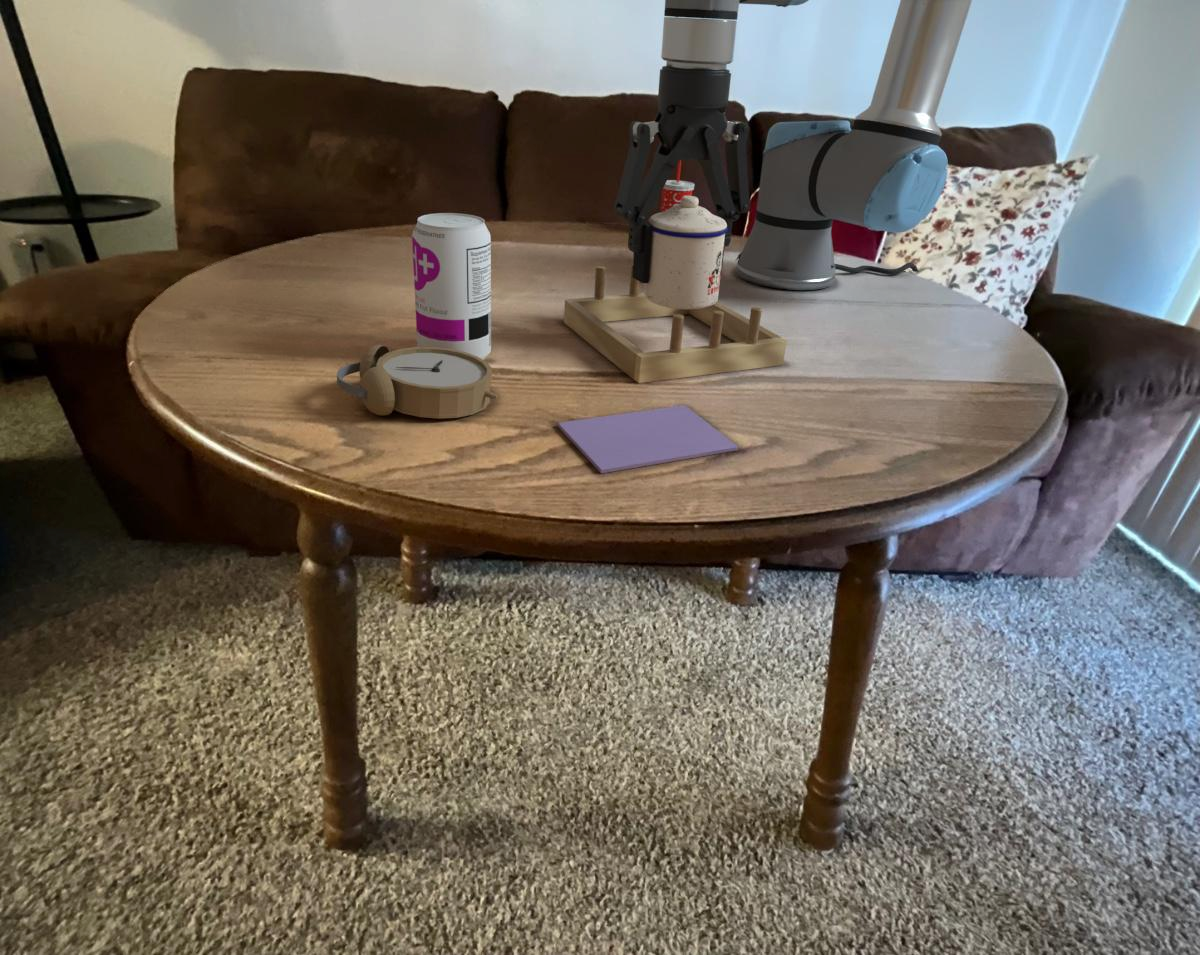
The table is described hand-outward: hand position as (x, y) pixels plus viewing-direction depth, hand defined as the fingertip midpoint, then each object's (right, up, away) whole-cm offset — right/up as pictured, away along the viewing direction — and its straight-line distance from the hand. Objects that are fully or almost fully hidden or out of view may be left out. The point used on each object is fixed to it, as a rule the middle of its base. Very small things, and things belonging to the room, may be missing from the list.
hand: (677, 276), depth 100 cm
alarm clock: (-27, -16, -15) cm, 35 cm away
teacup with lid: (0, -2, +2) cm, 3 cm away
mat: (-5, -20, -20) cm, 29 cm away
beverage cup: (+4, +21, +57) cm, 61 cm away
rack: (-1, -7, +4) cm, 8 cm away
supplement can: (-26, -10, -4) cm, 28 cm away
